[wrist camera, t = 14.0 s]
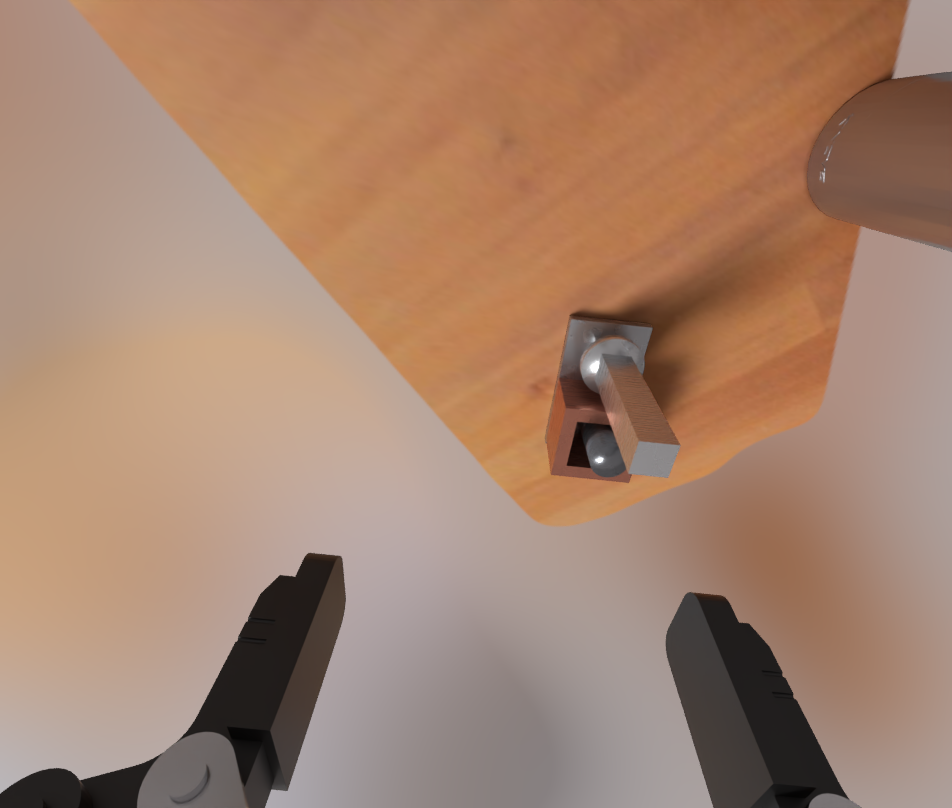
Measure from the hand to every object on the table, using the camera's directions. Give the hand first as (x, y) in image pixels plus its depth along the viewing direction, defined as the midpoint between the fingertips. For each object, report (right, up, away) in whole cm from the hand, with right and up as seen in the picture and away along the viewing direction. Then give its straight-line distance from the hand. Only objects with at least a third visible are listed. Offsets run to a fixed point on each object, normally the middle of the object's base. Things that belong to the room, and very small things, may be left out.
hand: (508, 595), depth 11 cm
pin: (+11, +4, +35) cm, 36 cm away
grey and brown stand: (+11, +6, +35) cm, 37 cm away
